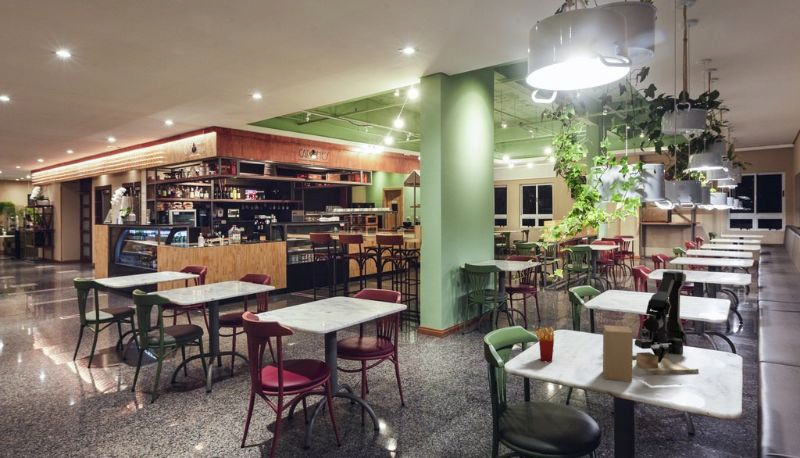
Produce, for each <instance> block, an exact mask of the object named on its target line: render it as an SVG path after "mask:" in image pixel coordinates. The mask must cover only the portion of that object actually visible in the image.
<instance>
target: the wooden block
mask: <svg viewBox="0 0 800 458" xmlns="http://www.w3.org/2000/svg"><path fill="white" fill-rule="evenodd" d="M602 327H603V328H602V332H603V333H602V372H603V375H604V379H605V380H611V381H620V382H621V381H622V382H630V383H631V382H633V366H632V363H633V359H632V356H633V350H634V349H633V346H634V345H633V342H634V341H633V340H634V334H633V331H632V329H631V328H630V327H629V326H626V325H625V326H623V325H621V326H620V325H608V324H607V325H606V324H604V325H603V326H602Z"/></svg>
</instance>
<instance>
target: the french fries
mask: <svg viewBox="0 0 800 458" xmlns="http://www.w3.org/2000/svg"><path fill="white" fill-rule="evenodd" d="M549 329H550V331H551V332H549ZM549 329H548V328H547V327H544V328H541V329H540V328H539V329H537V330H536V331H535V334H536V336H537V337H538V341H539V342H538V343H539V354H540V361H541V362H544V361H546V362H547V363H552V362H553V355H554V346H555V345H554V343H555V338H554V336H555V334H554V333H555V331H554V329H553V326H550V327H549Z"/></svg>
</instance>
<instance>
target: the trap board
mask: <svg viewBox="0 0 800 458" xmlns="http://www.w3.org/2000/svg"><path fill="white" fill-rule="evenodd" d="M636 356H637V354H634V355H633V356H632V360H636ZM632 368H635V369H637V370H638V371H641V372H645V371H646V375H647V376H662V375H684V374H687V375H688V374H699V370H700V369H699V368H690V367H687V366H686V365H683V364H681V363H679V362H678V361H675V360H673V359H671V358H669V354H668V353H666V354H665V356H664V357H663V359H662V360H661V362H660V363H658V368H651V369H644V368H643V367H641V366H639V365H637V364H636V362H635V361H634V362H632Z"/></svg>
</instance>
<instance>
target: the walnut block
mask: <svg viewBox="0 0 800 458" xmlns="http://www.w3.org/2000/svg"><path fill="white" fill-rule="evenodd" d="M636 355H637V356H636V359H635V360H636V364H637V365H639V366H641V367H643V368H644V369H651V368H658V356H656V355H654V353H652V352H648V351H647V352H636Z"/></svg>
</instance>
